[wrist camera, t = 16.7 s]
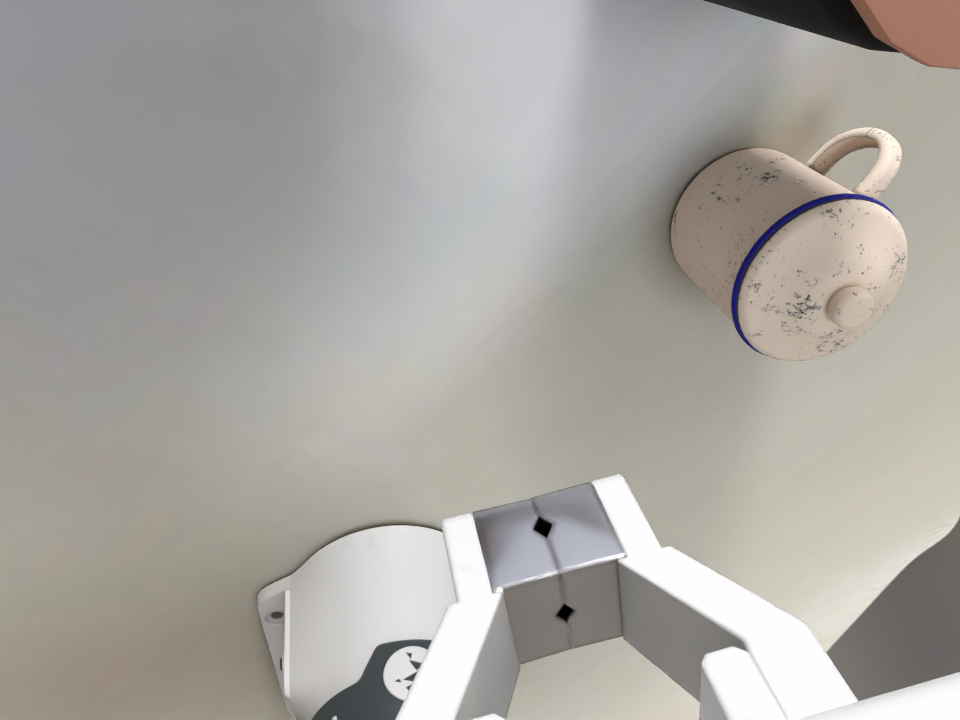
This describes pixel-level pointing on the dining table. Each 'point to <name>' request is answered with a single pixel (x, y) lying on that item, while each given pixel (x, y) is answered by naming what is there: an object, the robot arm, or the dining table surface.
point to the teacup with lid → (794, 245)
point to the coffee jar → (872, 24)
